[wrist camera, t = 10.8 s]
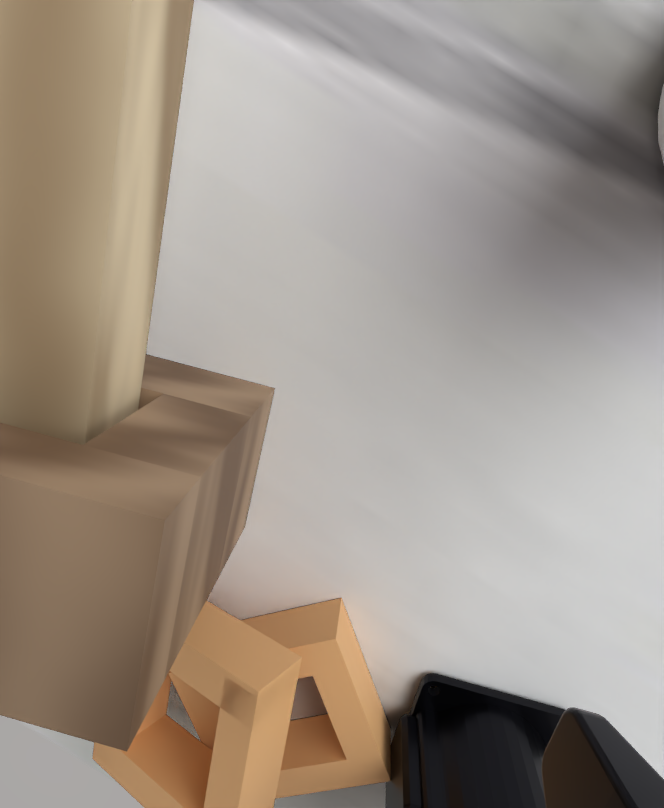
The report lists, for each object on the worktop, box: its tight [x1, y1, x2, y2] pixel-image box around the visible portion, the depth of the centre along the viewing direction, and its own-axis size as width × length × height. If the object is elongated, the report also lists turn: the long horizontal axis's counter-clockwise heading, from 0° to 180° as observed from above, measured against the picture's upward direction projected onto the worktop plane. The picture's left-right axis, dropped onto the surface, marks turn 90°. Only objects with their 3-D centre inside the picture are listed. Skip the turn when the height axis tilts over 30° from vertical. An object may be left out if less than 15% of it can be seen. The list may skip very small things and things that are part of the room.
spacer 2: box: [168, 598, 391, 798], centre depth 22 cm, size 7×7×2 cm
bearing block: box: [0, 355, 275, 751], centre depth 16 cm, size 10×6×10 cm, turn 76°
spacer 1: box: [92, 600, 302, 808], centre depth 20 cm, size 7×2×7 cm
